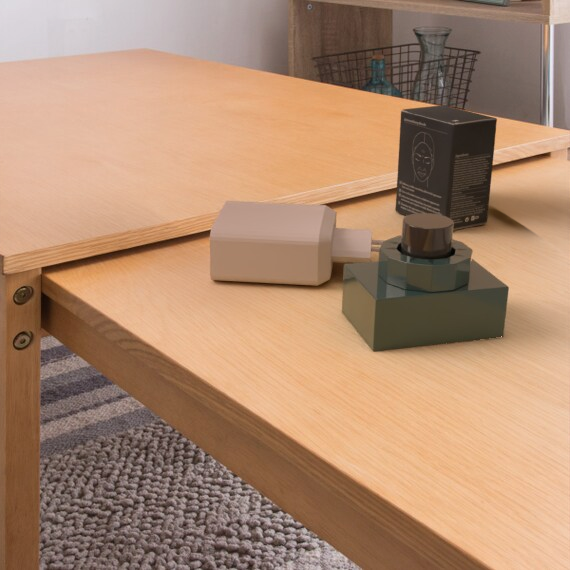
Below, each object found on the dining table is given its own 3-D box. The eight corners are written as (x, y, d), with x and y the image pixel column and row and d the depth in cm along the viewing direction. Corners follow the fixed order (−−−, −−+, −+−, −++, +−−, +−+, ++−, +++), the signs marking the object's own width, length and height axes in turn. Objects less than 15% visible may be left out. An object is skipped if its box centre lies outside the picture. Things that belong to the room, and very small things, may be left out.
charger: (395, 295, 74) (209, 285, 75) (395, 255, 82) (228, 247, 84) (398, 239, 72) (208, 229, 74) (398, 204, 81) (228, 196, 82)
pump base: (461, 300, 73) (468, 228, 71) (503, 338, 67) (512, 260, 65) (341, 312, 71) (344, 238, 68) (373, 352, 64) (377, 272, 62)
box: (488, 224, 91) (499, 117, 87) (444, 233, 88) (453, 123, 84) (435, 203, 97) (443, 102, 93) (393, 211, 94) (399, 108, 90)
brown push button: (438, 244, 69) (441, 211, 68) (459, 260, 65) (462, 226, 64) (393, 247, 68) (395, 214, 67) (411, 265, 65) (414, 230, 64)
